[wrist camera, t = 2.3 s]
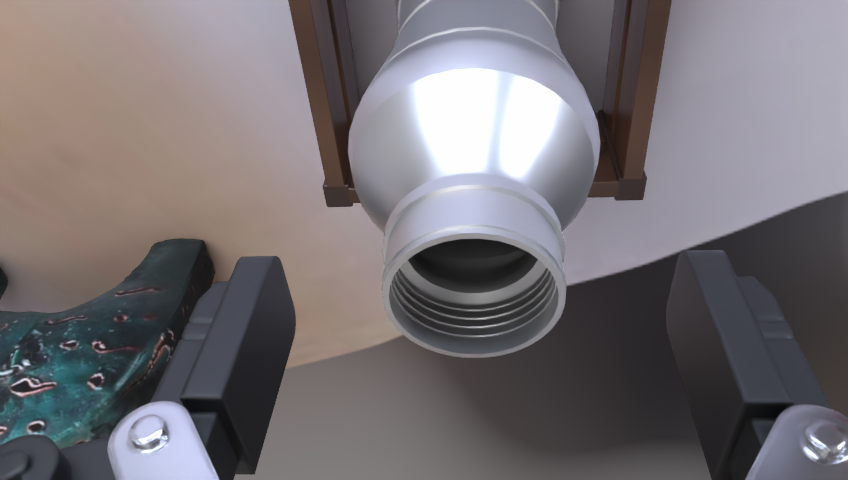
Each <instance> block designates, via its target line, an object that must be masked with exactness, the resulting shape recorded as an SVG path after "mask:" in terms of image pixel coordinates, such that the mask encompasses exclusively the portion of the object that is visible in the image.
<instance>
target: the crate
mask: <svg viewBox="0 0 848 480" xmlns="http://www.w3.org/2000/svg"><path fill="white" fill-rule="evenodd" d="M288 1H289V6H290V11H291V15H292V20H293V25H294V30H295V35H296V39H297V44H298V49H299V54H300V59H301V64H302V68H303V73H304V78H305V83H306V88H307V92H308V97H309V102H310V107H311V112H312V116H313V121H314V126H315V131H316V136H317V140H318V145H319V150H320V155H321V160H322V165H323V169H324V174H325V181H324V184H323V190H324V195H325V199H326V204H327V207H348V206H353V203H361V202H360V200H359V197H358V195H357V193H356V190H355V186H354V182H353V177H352V172H351V167H350V161H349V156H348V142H349V131H350V128H351V125H352V121H353V118H354V115H355V112H356V110H357V108H358V106H359V104H360V98H359V91H358V85H357V78H356V71H355V65H354V58H353V52H352V45H351V39H350V32H349V26H348V19H347V13H346V6H345V0H288ZM671 1H672V0H615V3H614V12H613V21H612V30H611V39H610V48H609V57H608V66H607V75H606V84H605V93H604V103H603V110H599V111H598V114H595V117H596V119H597V122H598V128H599V135H600V152H599V161H598V166H597V169H596V173H595V176H594V179H593V183H592V185H591V188H590V191H589V194H588V197H615V200H643V198H644V192H645V186H646V180H647V177H646V174H645V171H644V164H645V158H646V152H647V146H648V140H649V134H650V128H651V122H652V116H653V110H654V104H655V98H656V92H657V86H658V80H659V73H660V67H661V61H662V55H663V49H664V43H665V37H666V31H667V25H668V19H669V13H670V7H671Z"/></svg>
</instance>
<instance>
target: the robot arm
mask: <svg viewBox="0 0 848 480" xmlns="http://www.w3.org/2000/svg"><path fill="white" fill-rule="evenodd" d="M666 323H667V324H666V325H667V332H668V337H669V340H670V344H671V347H672V350H673V353H674V357H675V360H676V363H677V367H678V370H679V373H680V377H681V380H682V383H683V386H684V389H685V393H686V396H687V399H688V403H689V406H690V409H691V413H692V416H693V419H694V422H695V426H696V429H697V432H698V436H699V439H700V442H701V445H702V449H703V452H704V455H705V459H706V462H707V465H708V468H709V472H710V475H711V478H712V480H848V418H847V417H846V416H844V415H842V414H841V413H838V412H837V411H834V410H832V409H831V407H830V405H829V404H828V402H827V400H826V398H825V396H824V394H823V392H822V390H821V388H820V386H819V384H818V382H817V380H816V378H815V376H814V374H813V372H812V370H811V368H810V366H809V364H808V362H807V360H806V358H805V356H804V354H803V352H802V350H801V348H800V346H799V344H798V342H797V340H796V339H794V337H793V336H794V335H793V333H792V330H791V328H790V326H789V324H788V322H787V321H785V317H784V315H783V313H782V311H781V309H780V307H779V305H778V303H777V301H776V299H775V297H774V295H773V294H772V293H771V292H770V291H768V290H767V289H766V288H765V287H764V286H763V285H762V284H761V283H760V282H758V281H757V280H756V279H755V278H754V277H753V276H736V274H735V272H734V270H733V268H732V265H731V263H730V262H729V259H728V257H727V255H726V253H725V252H724V251H722V250H705V251H704V250H703V251H702V250H701V251H700V250H697V251H681V252H680V254H679V256H678V260H677V264H676V269H675V273H674V277H673V282H672V286H671V291H670V295H669V299H668V304H667V310H666ZM295 326H296V316H295V309H294V305H293V301H292V298H291V294H290V291H289V287H288V284H287V280H286V277H285V273H284V269H283V266H282V263H281V260H280V259H279V257H277V256H255V257H241V258H240V259H239V260H238V262H237V264H236V266H235V268H234V271H233V273H232V275H231V278H230V280H229V282H215V283H214V284H213V285H212V286H211V287H210V288H209V289H208V290H207V291H206V292H205V293H204V294H203V295H202V296H201V297H200V298H199V299H198V301H197V303H196V305H195V308H194V310H193V312H192V314H191V316H190V318H189V324H187V325H186V327H185V329H184V331H183V333H182V335H181V337H182V339H181V340H179V342H178V344H177V346H176V348H175V350H174V353H173V355H172V357H171V359H170V361H169V363H168V365H167V368H166V370H165V372H164V374H163V376H162V378H161V380H160V382H159V385H158V387H157V389H156V391H155V393H154V395H153V397H152V399H151V401H150V403H149V404H146V405H143V406H141V407H139V408H137V409H135V410H134V411H132V412H131V413H129V414H128V415H126V416H125V417H124V418H123V419H122V420H121V421H120V422H119V423H118V425H117V426H116V427H115V429H114V430H113V432H112V434H111V435H108V436H105V437H102V438H99V439H95V440H91V441H88V442H84V443H80V444H77V445H73V446H70V447H66V448H62V449H59V448H58V446H57V445H56V444H55V442H54V441H53V440H52V439H51V438H49V437H47V436H44V435H40V434H31V435H24V436H20V437H17V438H14V439H12V440H10V441H8V442H6V443H4V444H2V445H0V480H233V479H234V476H235V474H255V471H256V467H257V464H258V460H259V457H260V454H261V450H262V447H263V443H264V439H265V436H266V433H267V429H268V426H269V422H270V419H271V415H272V412H273V408H274V405H275V401H276V398H277V394H278V391H279V387H280V384H281V381H282V377H283V374H284V370H285V367H286V363H287V360H288V356H289V353H290V349H291V346H292V342H293V339H294V335H295Z"/></svg>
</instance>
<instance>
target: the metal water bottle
mask: <svg viewBox="0 0 848 480" xmlns="http://www.w3.org/2000/svg"><path fill="white" fill-rule="evenodd" d="M560 3H561V0H396V11H397V20H398V24H399V32H398V37H397V39H396V41H395V44H394V46H393V49H392V51H391V53H390V55H389V56H388V58H387V59H386V61H385V62H384V64H383V65H382V67H381V68H380V70H379V71H378V73H377V74H376V76H375V77H374V78H373V80H372V81H371V83H370V85H369V86H368V88H367V90H366V92H365V93H364V95H363V97H362V99H361V101H360V104H359V106H358V108H357V110H356V112H355V115H354V118H353V121H352V125H351V128H350V131H349V142H348V156H349V161H350V167H351V172H352V177H353V182H354V186H355V190H356V193H357V195H358V197H359V200H360V202H361V204H362V207H363V208H364V210H365V211H366V212H367V214H368V215H369V217H370V218H371V219H372V221H373V222H374V223H375V224H376V225H377V226H378V228H379V229H380V230H381V231H382V232H383V233H384V240H383V249H382V254H383V260H384V265H385V266H384V273H383V280H382V288H381V289H382V297H383V303H384V308H385V311H386V313H387V315H388V317H389V319H390V321H391V322H392V323H393V324H394V326H395V327H396V328H397V330H399V331H400V332H401V333H402V334H403V335H404V336H406V337H407V338H408V339H410V340H411V341H413V342H415V343H416V344H418V345H420V346H422V347H424V348H427V349H429V350H432V351H434V352H437V353H441V354H446V355H449V356H456V357H465V358H485V357H493V356H500V355H504V354H508V353H511V352H515V351H518V350H520V349H522V348H525V347H527V346H530V345H531V344H533V343H534V342H536V341H537V340H539V339H541V338H542V337H543V336H544V335H546V334H547V333H548V332H549V331H550V330H551V329H552V328H553V327H554V325H555V324H556V323H557V321H558V320H559V318H560V316H561V314H562V311H563V309H564V306H565V297H566V281H565V275H564V270H563V261H564V251H565V247H564V241H563V235H562V231H563V230H564V229H565V228H566V227H567V226H568V225H569V224H570V222H571V221H572V220H573V219H574V218H575V217H576V216H577V214H578V212H579V211H580V209H581V208H582V206H583V205H584V203H585V201H586V199H587V197H588V194H589V191H590V188H591V185H592V183H593V179H594V176H595V173H596V169H597V166H598V161H599V152H600V135H599V128H598V122H597V119H596V117H595V114H594V112H593V109H592V107H591V104H590V102H589V99H588V97H587V94H586V92H585V89H584V87H583V85H582V84H581V82H580V81H579V79H578V78H577V76H576V74H575V73H574V71H573V69H572V68H571V66H570V65H569V63H568V61H567V60H566V58H565V56H564V55H563V53H562V51H561V48H560V45H559V42H558V40H557V36H556V22H557V18H558V15H559V11H560Z"/></svg>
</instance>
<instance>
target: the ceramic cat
mask: <svg viewBox="0 0 848 480" xmlns="http://www.w3.org/2000/svg"><path fill="white" fill-rule="evenodd" d="M214 275H215V270H214V267H213V263H212V261H211V260H210V258H209V256H208V255H207V251H206V248H205V245H204V242H203V241H202V240H192V239H173V240H165V241H163V242H158V243H155V244H154V245H153V246H152V247H151V249H150V251H149V253H148V255H147V256H146V257H145V259H144V260H143V261H142V262H141V263H140V265H139V266H138V267H137V268H135V269H134V270H133V271H132V272H131V274H130V275H129V276H128V277H126V278H125V280H124V281H123V282H121V283H120V284H119V285H118V286H117V287H115V288H113V289H111V290H110V291H108V292H106V293H104V294H102V295H101V296H99V297H97V298H95V299H93V300H91V301H89V302H86V303H84V304H82V305H80V306H77V307H75V308H72V309H69V310H66V311H63V312H58V313H40V312H8V311H0V445H2V444H4V443H6V442H8V441H10V440H12V439H14V438H17V437H20V436H24V435H31V434H40V435H44V436H47V437H49V438H51V439H52V440H53V441H54V442H55V444H56V445H57V446H58V448H59V449H62V448H66V447H70V446H73V445H77V444H80V443H84V442H88V441H91V440H95V439H99V438H102V437H105V436H108V435H111V434H112V432H113V430H114V429H115V427H116V426H117V425H118V423H119V422H120V421H121V420H122V419H123V418H124V417H125V416H126V415H128V414H129V413H131V412H132V411H134V410H135V409H137V408H139V407H141V406H143V405H146V404H149V403H150V401H151V399H152V397H153V395H154V393H155V391H156V389H157V387H158V385H159V382H160V380H161V378H162V376H163V374H164V372H165V370H166V368H167V365H168V363H169V361H170V359H171V357H172V355H173V353H174V350H175V348H176V346H177V344H178V342H179V340H181V339H182V337H181V335H182V333H183V331H184V329H185V327H186V325H187V324H189V318H190V316H191V314H192V312H193V310H194V308H195V305H196V303H197V301H198V299H199V298H200V297H201V296H202V295H203V294H204V293H205V292H206V291H207V290H208V289H209V288H210V287H211V285H212V281H213V278H214ZM6 287H7V280H6V277H5V275H4V273H3V271H2V269H1V268H0V299H1V297H2V295H3V294H4V292H5V290H6Z"/></svg>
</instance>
